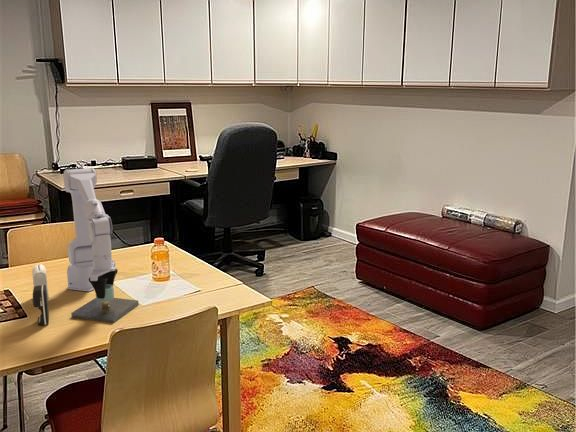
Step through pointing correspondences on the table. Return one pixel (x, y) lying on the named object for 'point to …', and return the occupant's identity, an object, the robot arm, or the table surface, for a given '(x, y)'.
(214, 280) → the table surface
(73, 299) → the table surface
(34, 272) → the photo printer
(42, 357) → the table surface
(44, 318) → the battery charger
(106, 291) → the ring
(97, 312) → the hub plate
